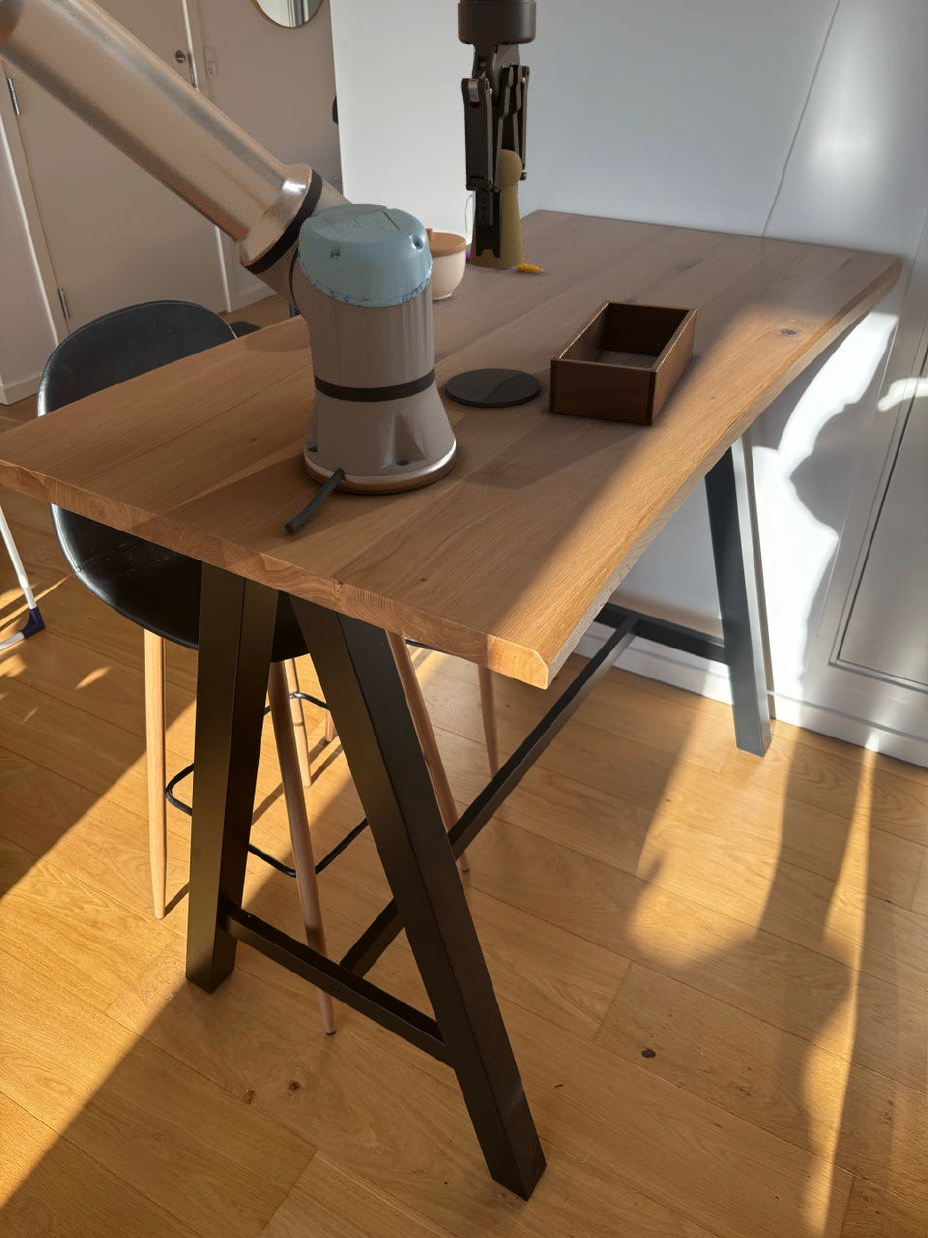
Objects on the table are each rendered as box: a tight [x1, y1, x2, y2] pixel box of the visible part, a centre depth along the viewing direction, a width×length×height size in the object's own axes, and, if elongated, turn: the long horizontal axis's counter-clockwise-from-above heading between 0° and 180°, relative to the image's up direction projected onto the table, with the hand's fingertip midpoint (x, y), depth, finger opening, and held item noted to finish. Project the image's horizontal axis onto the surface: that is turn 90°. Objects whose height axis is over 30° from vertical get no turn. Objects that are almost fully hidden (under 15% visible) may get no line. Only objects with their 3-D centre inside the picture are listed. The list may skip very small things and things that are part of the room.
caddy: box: [548, 299, 698, 426], centre depth 114 cm, size 23×12×6 cm, turn 158°
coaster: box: [445, 367, 541, 408], centre depth 115 cm, size 11×11×1 cm
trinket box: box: [425, 227, 467, 301], centre depth 145 cm, size 11×11×9 cm
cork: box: [468, 149, 525, 269], centre depth 104 cm, size 6×6×11 cm
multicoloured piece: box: [465, 252, 544, 274], centre depth 159 cm, size 3×1×16 cm
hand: (496, 250), depth 106 cm, fingers closed on cork, 4 cm apart
